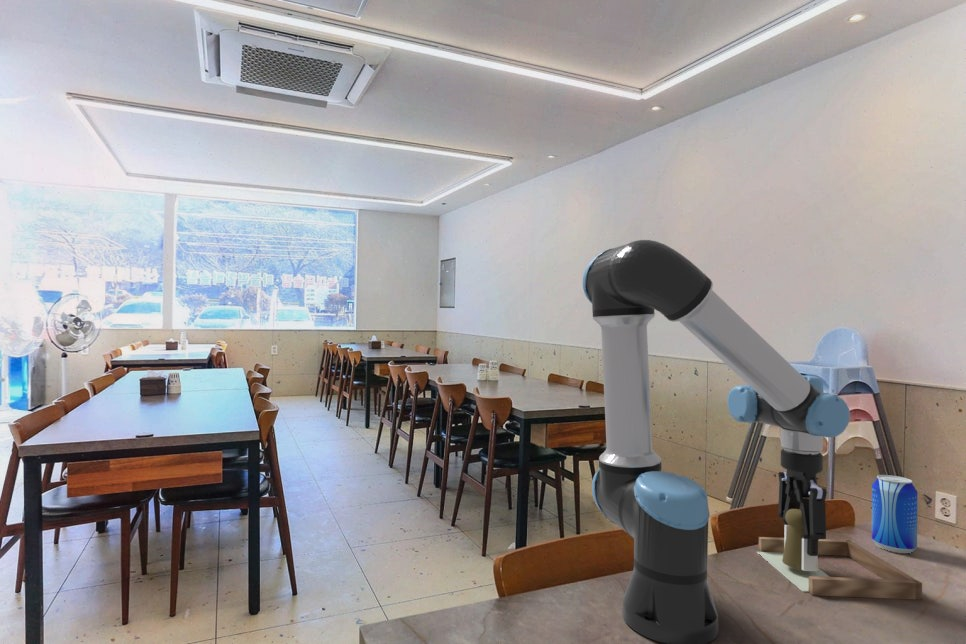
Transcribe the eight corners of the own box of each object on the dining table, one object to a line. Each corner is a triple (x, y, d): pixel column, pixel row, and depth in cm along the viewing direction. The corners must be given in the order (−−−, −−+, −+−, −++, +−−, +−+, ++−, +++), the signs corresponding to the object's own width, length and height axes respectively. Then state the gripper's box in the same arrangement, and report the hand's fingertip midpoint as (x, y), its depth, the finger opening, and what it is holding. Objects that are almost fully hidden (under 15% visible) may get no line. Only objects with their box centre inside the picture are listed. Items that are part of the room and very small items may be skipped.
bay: (812, 595, 101) (812, 579, 101) (758, 550, 122) (758, 536, 122) (922, 599, 100) (922, 583, 100) (849, 553, 121) (849, 540, 121)
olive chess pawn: (821, 572, 108) (822, 516, 108) (788, 568, 109) (789, 513, 109) (809, 559, 113) (810, 507, 114) (778, 556, 115) (779, 504, 115)
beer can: (877, 538, 131) (878, 472, 131) (921, 549, 125) (921, 479, 125) (866, 546, 126) (867, 477, 126) (911, 558, 119) (912, 485, 120)
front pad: (802, 591, 102) (802, 590, 102) (756, 552, 120) (756, 551, 120) (851, 593, 102) (851, 592, 102) (797, 554, 120) (797, 553, 120)
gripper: (849, 461, 102) (848, 585, 102) (794, 441, 121) (793, 545, 120) (809, 460, 102) (807, 583, 102) (760, 440, 121) (759, 544, 121)
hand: (800, 562), depth 111 cm, fingers closed on olive chess pawn, 6 cm apart
